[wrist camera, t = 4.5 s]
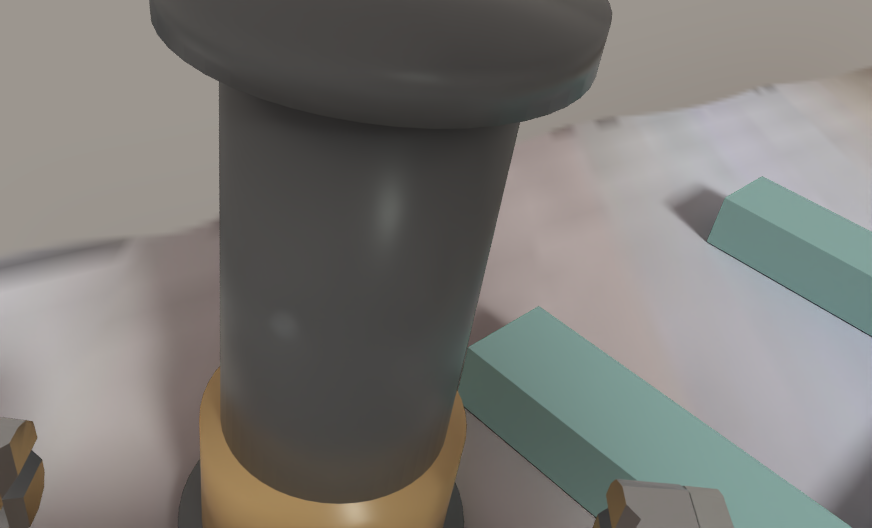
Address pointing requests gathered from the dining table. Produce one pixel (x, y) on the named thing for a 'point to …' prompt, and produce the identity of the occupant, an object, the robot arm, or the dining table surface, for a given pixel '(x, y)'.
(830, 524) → the notched board
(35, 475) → the robot arm
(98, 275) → the dining table surface
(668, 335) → the dining table surface
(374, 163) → the door knob
